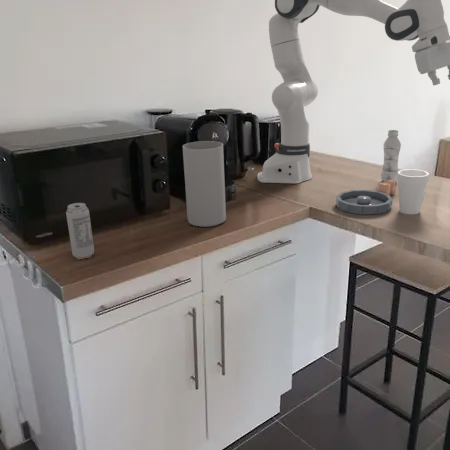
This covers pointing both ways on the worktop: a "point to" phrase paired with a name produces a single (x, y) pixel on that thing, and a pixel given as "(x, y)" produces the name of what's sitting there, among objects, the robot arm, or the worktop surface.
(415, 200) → the foam cup
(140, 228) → the worktop surface
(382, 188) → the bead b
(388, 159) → the plastic bottle
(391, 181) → the peach egg shape
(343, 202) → the tray
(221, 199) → the cylinder vase
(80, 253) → the energy drink can
